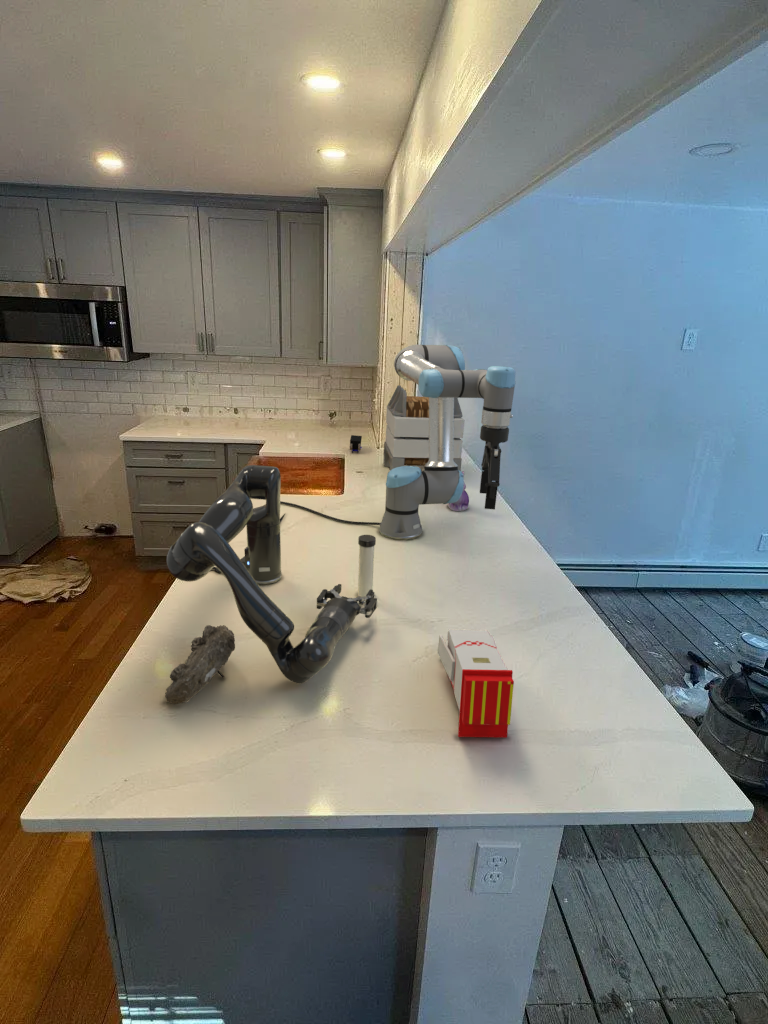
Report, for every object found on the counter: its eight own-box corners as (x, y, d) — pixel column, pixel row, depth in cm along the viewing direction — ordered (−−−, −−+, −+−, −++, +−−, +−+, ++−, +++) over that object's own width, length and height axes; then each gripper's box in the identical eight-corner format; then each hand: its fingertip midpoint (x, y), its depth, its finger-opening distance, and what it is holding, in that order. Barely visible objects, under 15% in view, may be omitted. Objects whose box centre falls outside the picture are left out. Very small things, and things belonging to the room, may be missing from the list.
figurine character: (361, 456, 305) (361, 447, 319) (361, 443, 302) (362, 434, 315) (348, 456, 305) (350, 446, 318) (349, 442, 302) (350, 433, 315)
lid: (378, 543, 152) (379, 537, 151) (369, 548, 148) (369, 542, 148) (364, 539, 154) (364, 533, 154) (354, 544, 151) (355, 538, 150)
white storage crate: (382, 463, 289) (386, 382, 275) (445, 464, 293) (451, 384, 279) (390, 482, 257) (394, 392, 243) (460, 483, 261) (468, 394, 247)
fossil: (189, 627, 129) (235, 597, 124) (218, 656, 132) (264, 627, 127) (143, 698, 109) (196, 665, 104) (179, 729, 112) (232, 699, 107)
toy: (488, 613, 130) (523, 677, 101) (484, 667, 133) (517, 744, 104) (435, 612, 130) (455, 676, 101) (432, 666, 133) (451, 743, 103)
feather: (292, 507, 224) (294, 503, 223) (275, 531, 197) (278, 527, 197) (288, 505, 224) (291, 501, 223) (271, 528, 197) (273, 524, 197)
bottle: (375, 594, 157) (377, 539, 151) (366, 600, 154) (369, 543, 148) (363, 590, 159) (365, 535, 153) (354, 595, 156) (356, 539, 150)
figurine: (455, 513, 222) (459, 476, 217) (441, 505, 231) (444, 469, 226) (475, 510, 226) (479, 474, 221) (460, 502, 235) (464, 467, 230)
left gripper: (305, 629, 134) (329, 598, 149) (362, 640, 131) (381, 607, 146) (305, 601, 132) (330, 572, 147) (363, 611, 128) (383, 581, 143)
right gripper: (516, 436, 140) (506, 516, 148) (502, 418, 164) (494, 488, 171) (486, 435, 141) (477, 515, 148) (476, 416, 164) (469, 486, 172)
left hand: (355, 590), depth 146 cm, fingers open, 8 cm apart
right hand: (486, 500), depth 160 cm, fingers open, 13 cm apart
